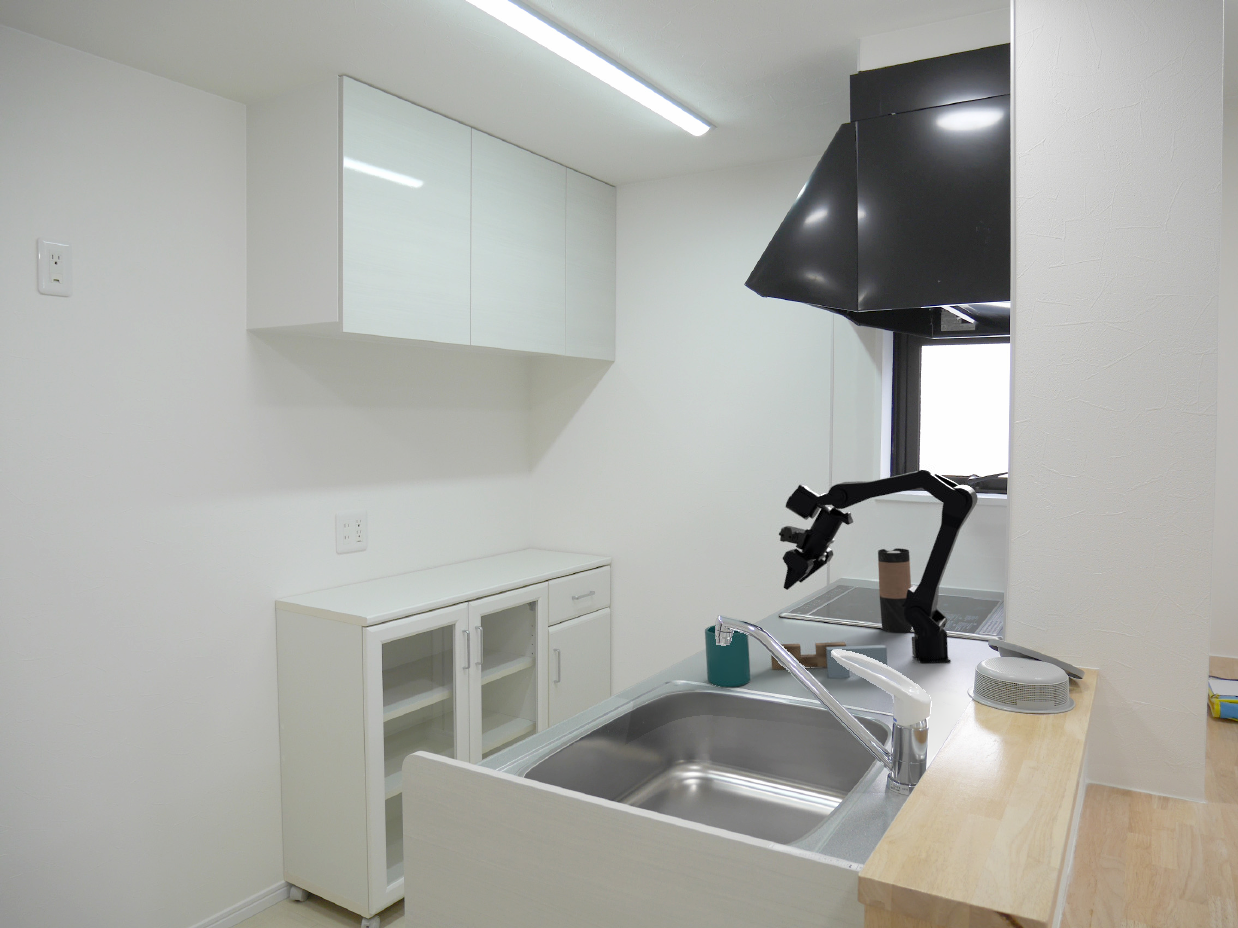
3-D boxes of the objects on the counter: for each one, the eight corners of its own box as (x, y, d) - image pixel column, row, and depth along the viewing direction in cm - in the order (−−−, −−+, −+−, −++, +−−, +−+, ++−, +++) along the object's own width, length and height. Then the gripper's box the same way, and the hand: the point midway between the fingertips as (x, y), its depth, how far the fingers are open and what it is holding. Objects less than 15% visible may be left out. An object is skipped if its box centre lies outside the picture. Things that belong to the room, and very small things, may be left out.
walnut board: (845, 664, 180) (844, 641, 180) (847, 667, 178) (845, 644, 178) (771, 666, 182) (770, 644, 181) (772, 669, 180) (771, 646, 179)
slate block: (885, 673, 173) (884, 644, 172) (887, 675, 171) (886, 647, 170) (827, 674, 174) (826, 646, 174) (829, 677, 172) (827, 649, 172)
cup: (765, 674, 176) (762, 623, 176) (736, 690, 167) (733, 636, 167) (729, 669, 182) (726, 619, 182) (699, 684, 173) (696, 631, 172)
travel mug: (902, 634, 201) (899, 553, 200) (875, 630, 207) (871, 551, 206) (918, 628, 206) (915, 549, 205) (891, 624, 212) (887, 547, 211)
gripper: (807, 508, 203) (779, 560, 208) (779, 516, 187) (749, 572, 192) (847, 532, 198) (816, 585, 203) (821, 543, 182) (789, 600, 187)
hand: (792, 585), depth 196 cm, fingers open, 9 cm apart
